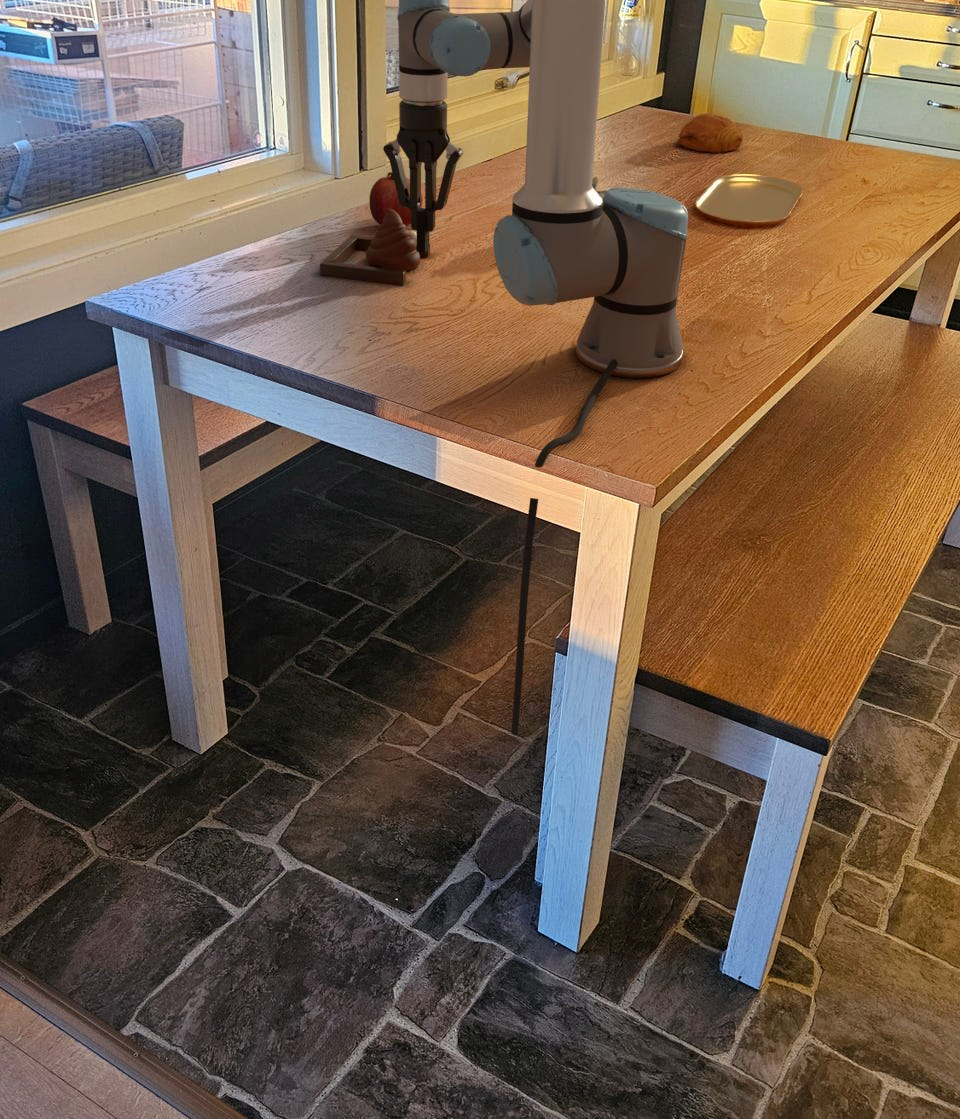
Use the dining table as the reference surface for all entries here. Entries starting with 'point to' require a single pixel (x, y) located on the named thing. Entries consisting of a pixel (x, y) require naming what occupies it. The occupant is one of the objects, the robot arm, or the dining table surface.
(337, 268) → the dark brown u-shaped frame
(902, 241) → the dining table surface
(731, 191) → the serving platter
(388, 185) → the fruit
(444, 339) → the dining table surface
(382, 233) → the poop emoji
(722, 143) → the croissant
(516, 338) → the dining table surface
